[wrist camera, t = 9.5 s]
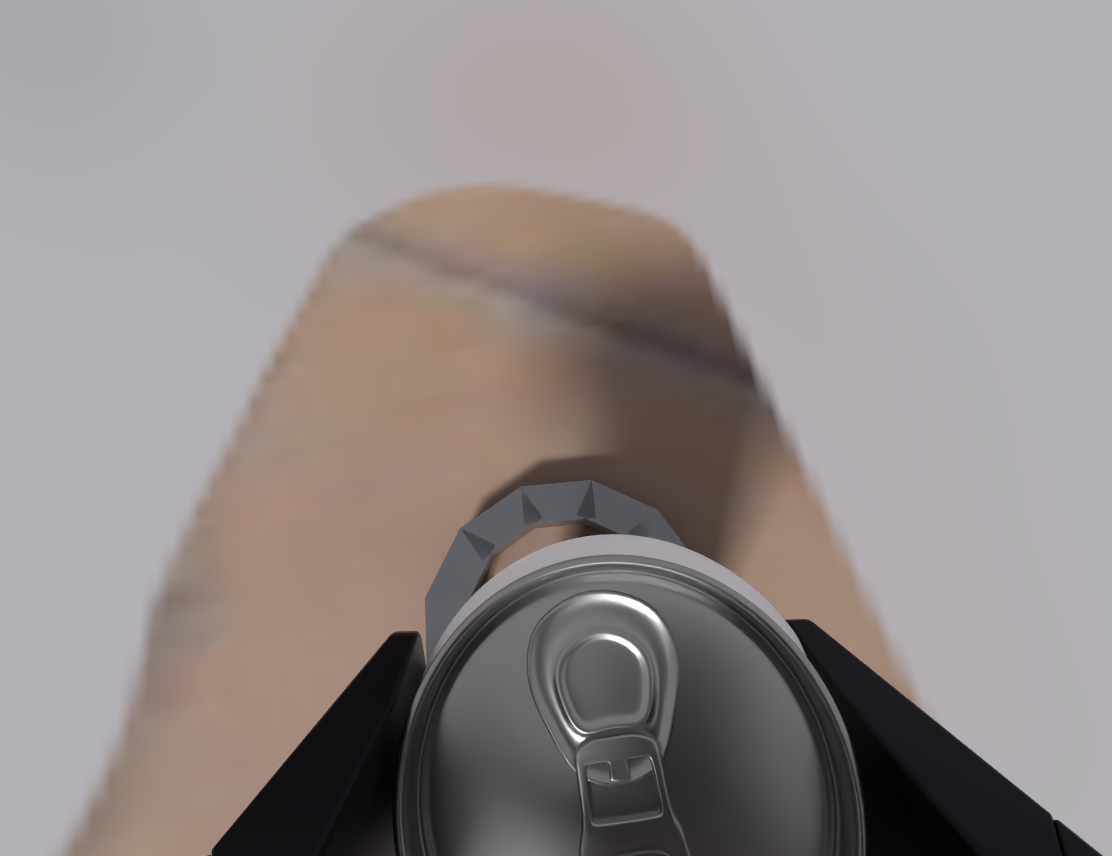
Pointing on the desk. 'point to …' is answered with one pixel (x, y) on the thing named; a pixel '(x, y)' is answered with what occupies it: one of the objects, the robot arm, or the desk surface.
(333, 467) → the desk surface
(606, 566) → the can
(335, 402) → the desk surface
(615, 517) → the collar
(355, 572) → the desk surface
